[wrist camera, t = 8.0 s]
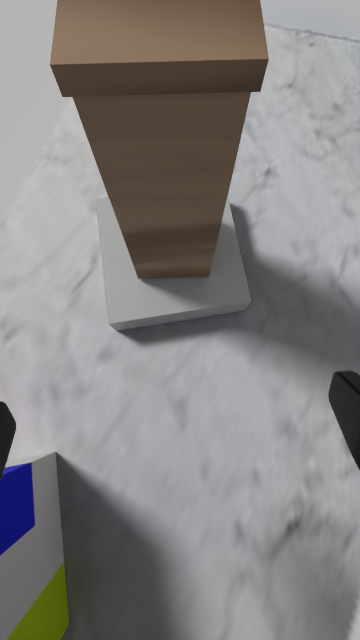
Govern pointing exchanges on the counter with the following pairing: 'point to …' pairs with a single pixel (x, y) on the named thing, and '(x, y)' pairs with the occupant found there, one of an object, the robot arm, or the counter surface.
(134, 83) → the walnut canister
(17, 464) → the puzzle toy
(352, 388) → the robot arm
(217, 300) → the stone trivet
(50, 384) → the counter surface
